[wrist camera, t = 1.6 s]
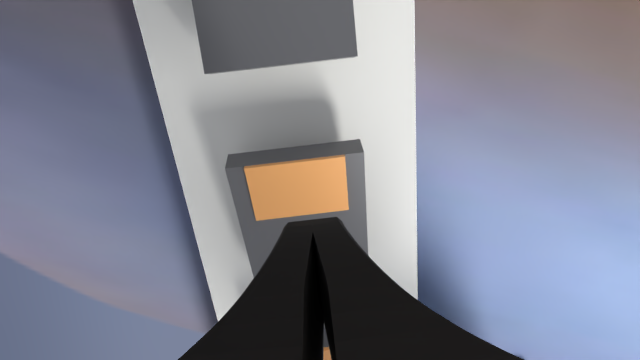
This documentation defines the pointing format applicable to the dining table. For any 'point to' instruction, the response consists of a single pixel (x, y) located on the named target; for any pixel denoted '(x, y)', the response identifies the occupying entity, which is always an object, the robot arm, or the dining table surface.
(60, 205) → the dining table surface
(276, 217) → the outlet rocker
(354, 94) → the power strip
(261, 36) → the outlet rocker
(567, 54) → the dining table surface
